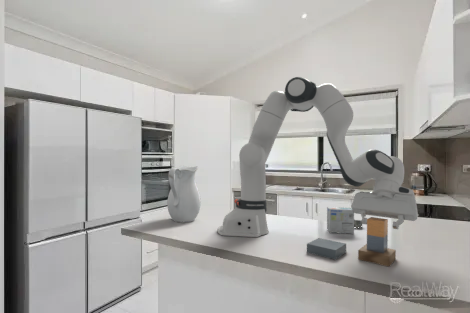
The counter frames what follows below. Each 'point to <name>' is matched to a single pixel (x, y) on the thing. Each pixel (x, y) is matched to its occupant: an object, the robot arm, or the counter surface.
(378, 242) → the orange and blue block
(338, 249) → the stand
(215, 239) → the counter surface
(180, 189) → the pitcher
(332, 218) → the light bulb box
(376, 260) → the stand
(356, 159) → the robot arm
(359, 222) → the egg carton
